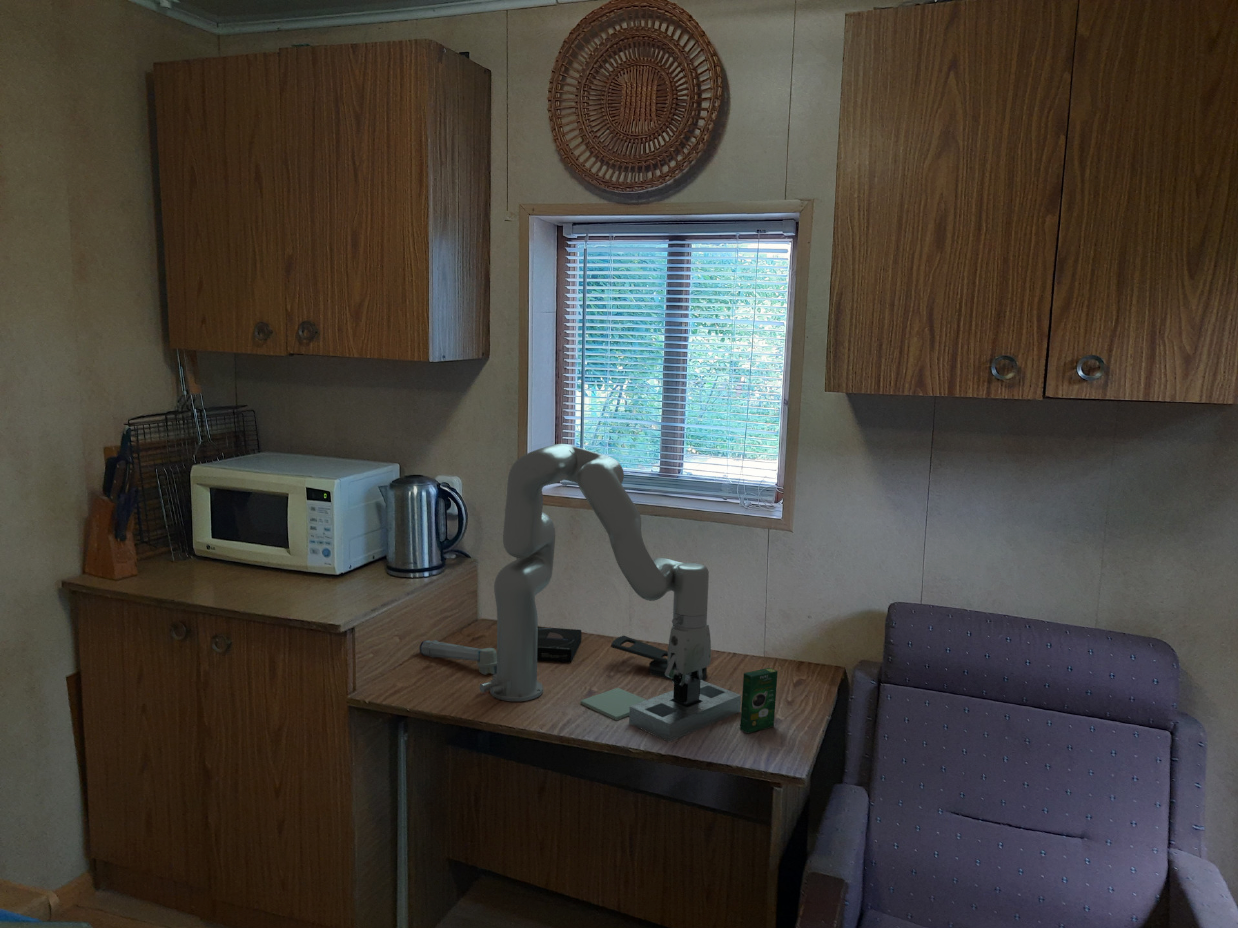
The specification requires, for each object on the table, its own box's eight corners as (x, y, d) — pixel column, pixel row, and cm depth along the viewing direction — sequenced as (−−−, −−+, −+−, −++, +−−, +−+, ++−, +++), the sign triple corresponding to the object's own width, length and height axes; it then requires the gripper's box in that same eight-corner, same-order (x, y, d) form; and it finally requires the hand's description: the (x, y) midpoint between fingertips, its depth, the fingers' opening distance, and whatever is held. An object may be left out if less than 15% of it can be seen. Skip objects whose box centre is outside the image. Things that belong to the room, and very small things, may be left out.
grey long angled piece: (430, 637, 243) (503, 643, 229) (433, 661, 243) (506, 669, 230) (416, 642, 238) (490, 649, 225) (419, 667, 239) (492, 675, 225)
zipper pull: (621, 633, 241) (712, 649, 231) (621, 657, 242) (710, 674, 232) (607, 643, 233) (700, 660, 223) (607, 668, 234) (699, 686, 224)
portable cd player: (581, 642, 254) (581, 629, 253) (571, 664, 237) (571, 649, 237) (523, 638, 256) (523, 625, 255) (509, 660, 239) (509, 645, 238)
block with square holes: (668, 741, 193) (669, 723, 192) (629, 723, 201) (629, 706, 201) (740, 711, 209) (740, 695, 209) (700, 695, 218) (701, 679, 217)
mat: (616, 720, 203) (616, 716, 203) (580, 703, 211) (580, 700, 211) (653, 706, 211) (653, 702, 211) (617, 690, 220) (617, 687, 219)
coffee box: (766, 721, 204) (769, 665, 203) (775, 726, 202) (778, 669, 200) (739, 729, 200) (741, 672, 198) (747, 734, 198) (750, 676, 196)
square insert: (686, 722, 203) (687, 684, 201) (672, 716, 205) (674, 678, 204) (698, 717, 205) (699, 679, 204) (684, 712, 208) (686, 674, 207)
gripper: (676, 631, 194) (673, 713, 196) (727, 615, 205) (723, 693, 208) (651, 622, 199) (648, 702, 202) (701, 608, 211) (698, 683, 213)
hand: (686, 697), depth 205 cm, fingers closed on square insert, 4 cm apart
